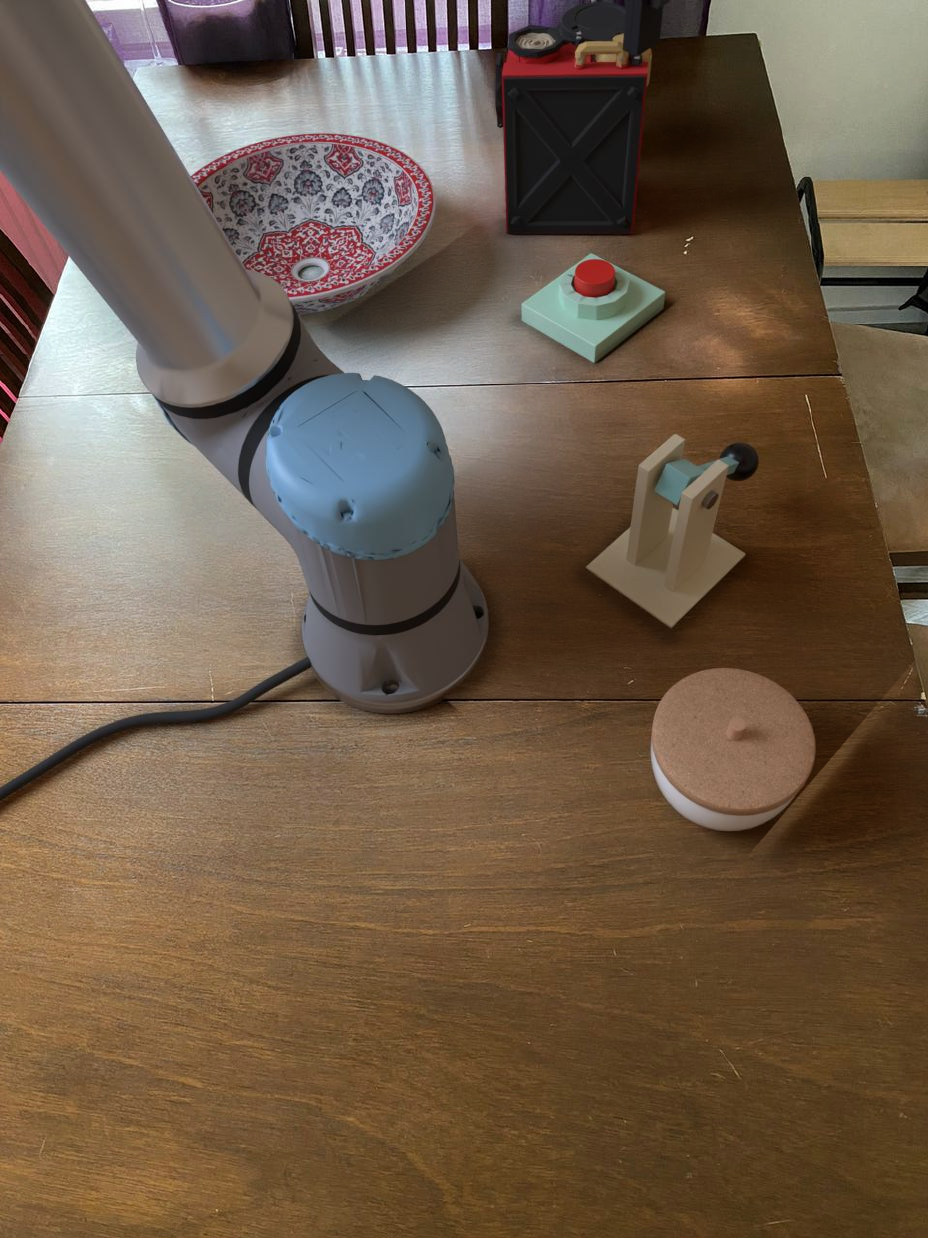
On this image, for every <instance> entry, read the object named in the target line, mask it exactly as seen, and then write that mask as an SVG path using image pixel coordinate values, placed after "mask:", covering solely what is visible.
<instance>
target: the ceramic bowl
mask: <svg viewBox="0 0 928 1238" xmlns="http://www.w3.org/2000/svg"><path fill="white" fill-rule="evenodd" d="M190 176H191V178H192V179H193V181H194V183H195V184H196V186H197V188H198V189H199V191H200V193H201V195H202V196H203V198H204V200H205V201H206V203H207V205H208V206H209V208H210V210H211V211H212V213H213V215H214V216H215V218H216V220H217V221H218V223H219V225H220V226H221V228H222V230H223V231H224V233H225V235H226V236H227V238H228V240H229V241H230V243H231V245H232V246H233V248H234V250H235V252H236V253H237V255H238V257H239V258H240V260H241V262H242V263H243V265H244V267H245V268H246V270H252V271H257V272H259V273H262V274H265V275H267V276H268V277H270V278H272V279H273V280H275V281H276V282H277V283H279V285H280V286H281V287H282V288H283V289H284V291H285V292H286V294H287V296H288V298H289V299H290V301H291V303H292V305H293V306H294V308H295V310H296V312H297V313H298V315H306V314H314V313H319V312H324V311H329V310H332V309H336V308H338V307H341V306H344V305H347V304H349V303H352V302H354V301H356V300H358V299H359V298H361V297H364V296H365V295H367V294H368V293H370V292H371V291H373V290H374V289H376V288H377V287H378V286H379V285H381V284H382V283H383V282H384V281H386V279H388V278H389V277H390V276H391V274H393V272H395V270H397V268H398V267H399V266H400V265H401V264H402V263H404V262H405V261H406V260H407V259H408V258H409V257H410V256H412V254H414V252H416V250H418V248H419V247H420V246H421V245H422V243H423V242H424V241H425V239H427V238H426V237H427V236H428V235H429V232H430V230H431V228H432V226H433V223H434V220H435V216H436V212H437V195H436V190H435V188H434V185H433V182H432V180H431V178H430V177H429V174H427V171H426V170H425V169H424V168H423V167H422V166H421V165H420V163H418V162H417V161H416V160H415V159H414V158H412V157H411V156H410V155H408V154H406V153H405V152H404V151H402V150H400V149H399V148H396V147H394V146H392V145H390V144H387V143H384V142H381V141H378V140H375V139H372V138H368V137H364V136H358V135H352V134H344V133H331V132H330V133H329V132H328V133H327V132H322V133H321V132H315V133H314V132H313V133H300V134H291V135H285V136H279V137H274V138H269V139H265V140H261V141H257V142H254V143H250V144H248V145H245V146H242V147H240V148H237V149H235V150H232V151H230V152H228V153H225V154H223V155H221V156H219V157H217V158H215V159H212V161H210V162H208V163H207V164H205V165H203V166H202V167H200V168H199V169H197V170H196V171H195V172H194V173H192V174H190ZM310 266H318V267H320V268H321V269H322V270H323V272H322V274H321V275H320V276H318V277H316V278H314V279H303V278H301V277H299V272H300V271H302V269H304V268H306V267H310Z"/></svg>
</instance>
